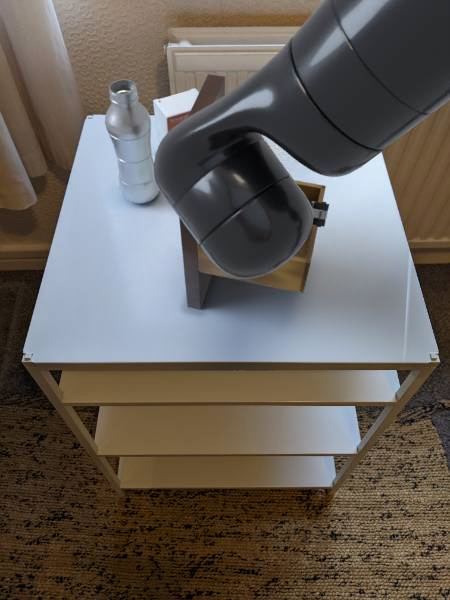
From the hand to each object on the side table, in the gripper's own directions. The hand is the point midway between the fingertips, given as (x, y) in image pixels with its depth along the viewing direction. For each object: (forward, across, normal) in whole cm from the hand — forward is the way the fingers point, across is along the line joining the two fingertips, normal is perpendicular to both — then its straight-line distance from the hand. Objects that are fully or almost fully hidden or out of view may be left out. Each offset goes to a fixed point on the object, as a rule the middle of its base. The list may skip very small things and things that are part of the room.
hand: (272, 205), depth 64 cm
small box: (+27, +19, -6) cm, 34 cm away
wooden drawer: (+9, +2, +11) cm, 15 cm away
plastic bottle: (+18, +23, +2) cm, 30 cm away
